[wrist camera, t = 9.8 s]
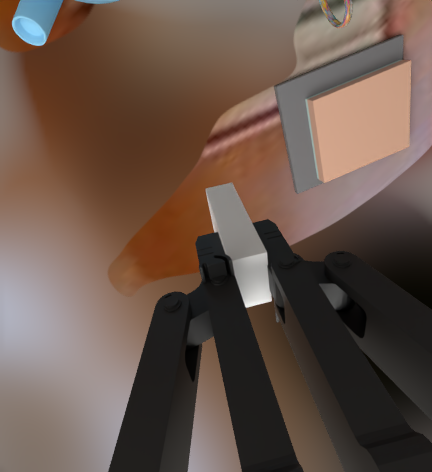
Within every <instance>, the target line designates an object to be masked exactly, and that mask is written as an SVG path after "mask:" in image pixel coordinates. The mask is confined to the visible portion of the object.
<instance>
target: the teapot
mask: <svg viewBox="0 0 432 472" xmlns="http://www.w3.org/2000/svg"><path fill="white" fill-rule="evenodd" d="M76 1H81V2H85V3H94V4H103V3H111V2H115V1H119V0H76ZM62 2H63V0H20V2H19V5H18V8H17V10H16V13H15V16H14V18H13V21H12V26H13V29H14V31H15V32H16V34H17V35H18V36H19V37H20V38H21V39H23V40H24V41H26V42H27V43H29V44H32V45H36V46H40V45H43V44H45V42H46V40H47V38H48V35H49V33H50V30H51V28H52V26H53V23H54V21H55V19H56V16H57V14H58V11H59V9H60V7H61V4H62Z"/></svg>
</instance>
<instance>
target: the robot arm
mask: <svg viewBox="0 0 432 472" xmlns="http://www.w3.org/2000/svg"><path fill="white" fill-rule="evenodd" d="M206 194H207V199H208V204H209V209H210V213H211V218H212V223H213V228H214V232H215V233H211V234H207V235H203V236H198V238H197V241H196V243H195V244H196V249H197V254H198V259H199V270H200V274H201V277H202V282H201V284H200V286H199V287H198V288H197V289H196V290H194V291H193V292H191V293H189V294H187V295H186V294H184V293H182V292H172V293H168V294H166V295H164V296H162V297H161V298H160V299H159V300H158V303H157V304H156V306H155V310H154V313H153V317H152V321H151V324H150V327H149V331H148V334H147V338H146V341H145V345H144V348H143V352H142V355H141V359H140V362H139V366H138V369H137V373H136V377H135V380H134V383H133V387H132V390H131V394H130V397H129V401H128V404H127V408H126V411H125V415H124V418H123V422H122V426H121V429H120V433H119V436H118V440H117V443H116V447H115V450H114V454H113V457H112V461H111V464H110V468H109V471H108V472H187V471H188V463H189V453H190V445H191V437H192V429H193V420H194V411H195V403H196V394H197V386H198V377H199V369H200V360H201V351H202V343H203V342H205V341H206V340H208V339H210V338H211V337H213V336H214V338H215V343H216V348H217V352H218V358H219V363H220V368H221V372H222V377H223V382H224V386H225V391H226V397H227V401H228V406H229V411H230V416H231V421H232V425H233V430H234V435H235V440H236V445H237V449H238V454H239V459H240V464H241V469H242V472H303V469H302V467H301V465H300V464H299V462H298V460H297V458H296V455H295V452H294V449H293V446H292V443H291V440H290V437H289V434H288V431H287V428H286V425H285V422H284V419H283V417H282V413H281V411H280V408H279V405H278V402H277V399H276V396H275V393H274V390H273V387H272V384H271V381H270V378H269V375H268V372H267V369H266V366H265V363H264V360H263V357H262V354H261V351H260V349H259V345H258V343H257V339H256V337H255V334H254V331H253V328H252V325H251V322H250V319H249V316H248V313H247V310H246V307H250V306H254V305H258V304H262V303H266V302H270V301H272V299H271V294H272V296H273V299H274V301H275V313H276V321H277V322H279V320H280V322H281V324H282V327H283V329H284V331H285V333H286V336H287V338H288V340H289V343H290V345H291V348H292V350H293V352H294V355H295V357H296V359H297V362H298V364H299V366H300V368H301V371H302V373H303V375H304V378H305V380H306V382H307V385H308V387H309V390H310V392H311V394H312V397H313V399H314V401H315V403H316V406H317V408H318V410H319V413H320V415H321V418H322V419H323V422H324V424H325V427H326V429H327V432H328V434H329V436H330V438H331V441H332V443H333V446H334V448H335V450H336V453H337V455H338V457H339V460H340V462H341V464H342V466H343V469H344V471H345V472H432V443H431V442H430V441H429V440H428V439H427V438H426V437H425V436H424V435H423V434H420V433H417V432H415V431H414V430H413V429H411V428H410V426H409V425H408V424H407V422H406V421H405V419H404V417H403V416H402V414H401V413H400V411H399V409H398V408H397V406H396V405H395V403H394V401H393V400H392V398H391V397H390V395H389V394H388V392H387V391H386V389H385V387H384V386H383V384H382V383H381V381H380V379H379V378H378V376H377V375H376V373H375V372H374V370H373V369H372V367H371V365H370V364H369V362H368V361H367V359H366V357H365V356H364V354H363V353H362V351H361V350H360V348H361V349H362V350H363V351H364V352H365V353H366V354H367V355H368V356H369V358H370V359H371V360H372V361H373V362H374V363H376V365H377V366H378V367H380V368H381V370H382V371H383V372H384V373H385V374H386V375H387V376H388V377H389V378H390V379H391V380H392V381H393V382H394V383H395V384H396V385H397V386H398V387H399V388H400V389H401V390H402V391H403V392H404V393H405V394H406V395H407V396H408V397H409V398H410V399H411V400H412V401H413V402H414V403H415V404H416V405H417V406H418V407H419V408H420V409H421V410H422V411H423V412H424V413H425V414H426V415H427V416H428V417H429V418H430V419H431V420H432V310H431V309H430V308H428V307H427V306H425V305H424V304H422V303H421V302H419V301H418V300H417V299H415V298H414V297H413V296H411V295H410V294H409V293H407V292H406V291H404V290H403V289H402V288H400V287H399V286H397V285H396V284H395V283H393V282H392V281H391V280H389V279H388V278H386V277H385V276H384V275H382V274H381V273H379V272H378V271H377V270H375V269H374V268H372V267H371V266H370V265H368V264H367V263H365V262H364V261H362V260H361V259H360V258H358V257H357V256H356V255H354V254H352V253H349V252H345V251H337V252H333V253H330V254H328V255H327V256H326V258H325V259H324V262H312V261H305V260H303V258H301V257H300V256H299V255H297V254H295V253H293V252H292V250H291V248H290V247H289V245H288V243H287V242H286V240H285V239H284V237H283V236H282V234H281V232H280V231H279V229H278V227H277V226H276V224H275V223H273V222H272V221H270V220H268V219H267V220H263V221H259V222H255V223H252V222H251V220H250V218H249V216H248V214H247V212H246V210H245V208H244V206H243V204H242V202H241V200H240V198H239V196H238V194H237V192H236V190H235V188H234V186H233V184H232V183H228V184H224V185H219V186H215V187H211V188H206ZM359 347H360V348H359Z"/></svg>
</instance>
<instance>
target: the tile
mask: <svg viewBox="0 0 432 472" xmlns="http://www.w3.org/2000/svg"><path fill="white" fill-rule="evenodd" d="M410 90H411V60H398V61H395V62H393V63H391V64H388V65H386V66H383V67H381V68H378V69H376V70H374V71H371V72H369V73H366V74H364V75H362V76H359V77H357V78H354V79H352V80H350V81H347V82H345V83H342V84H340V85H337V86H335V87H333V88H330V89H328V90H325V91H323V92H321V93H318V94H316V95H313V96H311V97H309V98H306V99H305V101H306V107H307V114H308V120H309V127H310V133H311V140H312V146H313V153H314V159H315V166H316V172H317V178H318V179H319V180H321V181H322V182H324V183H326V182H328V181H330V180H333V179H335V178H337V177H340V176H342V175H344V174H347V173H349V172H351V171H354V170H356V169H358V168H361V167H363V166H365V165H368V164H370V163H372V162H375V161H377V160H379V159H382V158H384V157H386V156H389V155H391V154H393V153H396V152H398V151H400V150H403V149H405V148H407V147H409V133H410Z"/></svg>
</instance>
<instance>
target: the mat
mask: <svg viewBox="0 0 432 472" xmlns="http://www.w3.org/2000/svg"><path fill="white" fill-rule="evenodd" d="M398 60H403V35H397V36H395V37H393V38H390V39H388V40H385V41H383V42H380V43H378V44H376V45H373V46H371V47H368V48H366V49H363V50H361V51H359V52H356V53H354V54H351V55H349V56H346V57H344V58H341V59H339V60H337V61H334V62H332V63H329V64H327V65H324V66H322V67H320V68H317V69H315V70H312V71H310V72H307V73H305V74H303V75H300V76H298V77H295V78H293V79H290V80H288V81H285V82H283V83H281V84H278V85H276V86H274V89H275V94H276V99H277V104H278V109H279V114H280V119H281V124H282V129H283V133H284V138H285V143H286V148H287V153H288V158H289V163H290V168H291V173H292V178H293V183H294V188H295V192H296V193H297V194H299V193H301V192H303V191H306V190H308V189H310V188H313V187H315V186H317V185H320V184H322V183H324V182H322V181H321V180H319V179H318V178H317V172H316V166H315V159H314V153H313V146H312V140H311V133H310V127H309V120H308V114H307V107H306V101H305V99H306V98H309V97H311V96H313V95H316V94H318V93H321V92H323V91H325V90H328V89H330V88H333V87H335V86H337V85H340V84H342V83H345V82H347V81H350V80H352V79H354V78H357V77H359V76H362V75H364V74H366V73H369V72H371V71H374V70H376V69H378V68H381V67H383V66H386V65H388V64H391V63H393V62H395V61H398Z"/></svg>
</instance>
